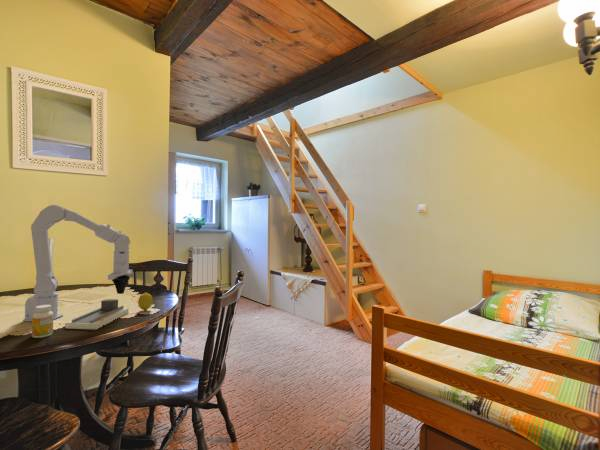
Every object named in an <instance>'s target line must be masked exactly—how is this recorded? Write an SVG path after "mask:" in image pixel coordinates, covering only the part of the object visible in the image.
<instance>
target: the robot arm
mask: <svg viewBox="0 0 600 450" xmlns="http://www.w3.org/2000/svg"><path fill="white" fill-rule="evenodd" d="M63 220H64V222H74V223H76V224H79V225H81V226H83V227H85V228H87V229H89V230H91V231H93V232H94V235H95V236H96V237H98V238H100V239H101V240H104V241H105V242H108V243H109V244H112V243H113V245H114V251H113V269H112V271H113V272H111V273H109V274H108V275H107V280H109V281H112V282H113V284H114V287H115V289H116V294H117V295H118V294H119V295H120V294H121V295H123V294H124V293H125V290H126V286H127V284H128V282H129V280H130V278H131V276H130V275H133V273H134V272H133V269H129V268H130V251H129V250H130V247H129V246H130V244H131V240H130V237H129V236H128V235H126V234H125V233H122V231H121V230H116V229H115V228H112V227H111V225H110V224H105V223H102V224H98V223H96V222H94V221H92V220H90V219H89V218H88V217H85V216H83V215H82V214H80V213H78V212H76V211H74V210H71V209H68V208H65V207H63V206H61V205H58V204H52V205H51V204H50V205H48V206H46V207H45V208H43V209H41V210H40V212H39V214H38V215H37V216H36V217H35V220H33V222H32V224H31V226H30V231H31V239H32V247H33V255H34V262H35V263H34V264H35V271H36V274H35V275H36V276H35V285H34V287H33V293H34V295H31V296H29V297H28V298H27V299H26V300H25V302H24V303H25V304H24V318H23V319H22V322H32V316H33V314H35V313H36V311H35V308H36V307H37V306H40V305H51V310H50V311H52V312H53V320H56V319H58V318H61V317H63V316H64V314H58V311H59V307H58V302H59V301H58V300H59V293H58V292H57V291H56V289H57V288H58V286H59V282H58V279H57V278H55V275H54V274H55V273H54V270H53V263H52V255H51V247H50V239H49V238H50V237H49V231H48V230H49V229H51V228H52V227H53V226H54V225H55V224H57V223H60V222H61V221H63Z"/></svg>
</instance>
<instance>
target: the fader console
mask: <svg viewBox="0 0 600 450" xmlns="http://www.w3.org/2000/svg"><path fill="white" fill-rule="evenodd" d="M128 314H129V307H128V308H127V307H124V305H121V306H118V308H116V309H114V310H112V311H101V307H98V308H97V309H94V310H91V311H89V312H86V313H84V314H82V315H80V316H77V317H75V318H72V319H70V320H69V321H66V322H65V329H70V330H72V329H74V330H75V329H76V330H98V329H99V328H102V327H103V325H104V326H105V325H108V324H109V323H111V322H113V320H114V321H116V320H117V318H118V319H119V317H120V318H121V317H124V316H125V315H128ZM115 319H116V320H115Z"/></svg>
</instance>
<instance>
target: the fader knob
mask: <svg viewBox="0 0 600 450" xmlns="http://www.w3.org/2000/svg"><path fill="white" fill-rule="evenodd" d="M100 303H101V305H100V306H101V307H100V308H101V311H112V310H114V309H116V308H118V307H119V299H114V298H110V299H109V298H106V299H103V300H101V302H100Z"/></svg>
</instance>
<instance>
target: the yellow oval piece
mask: <svg viewBox="0 0 600 450" xmlns="http://www.w3.org/2000/svg"><path fill="white" fill-rule="evenodd" d="M137 303H138V308H140V309H141V310H143V311H144V312H146V311H147V310H149V309H150V308H151V307H152V305H153V296H152V295H151V294H150V293H149V292H144V293H142V294H140V295H139V297H138V301H137Z"/></svg>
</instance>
